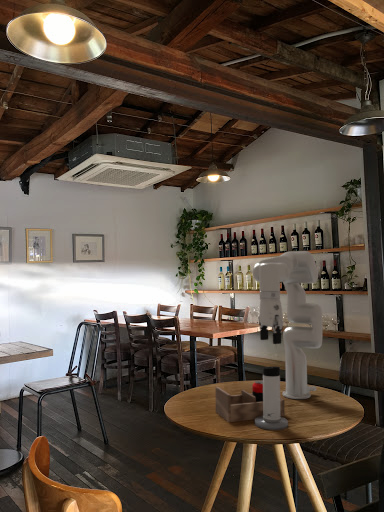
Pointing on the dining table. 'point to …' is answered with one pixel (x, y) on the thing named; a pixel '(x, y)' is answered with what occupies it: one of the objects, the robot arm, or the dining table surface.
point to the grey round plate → (271, 424)
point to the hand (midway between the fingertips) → (270, 341)
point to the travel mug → (271, 394)
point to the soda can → (258, 390)
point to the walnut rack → (240, 406)
